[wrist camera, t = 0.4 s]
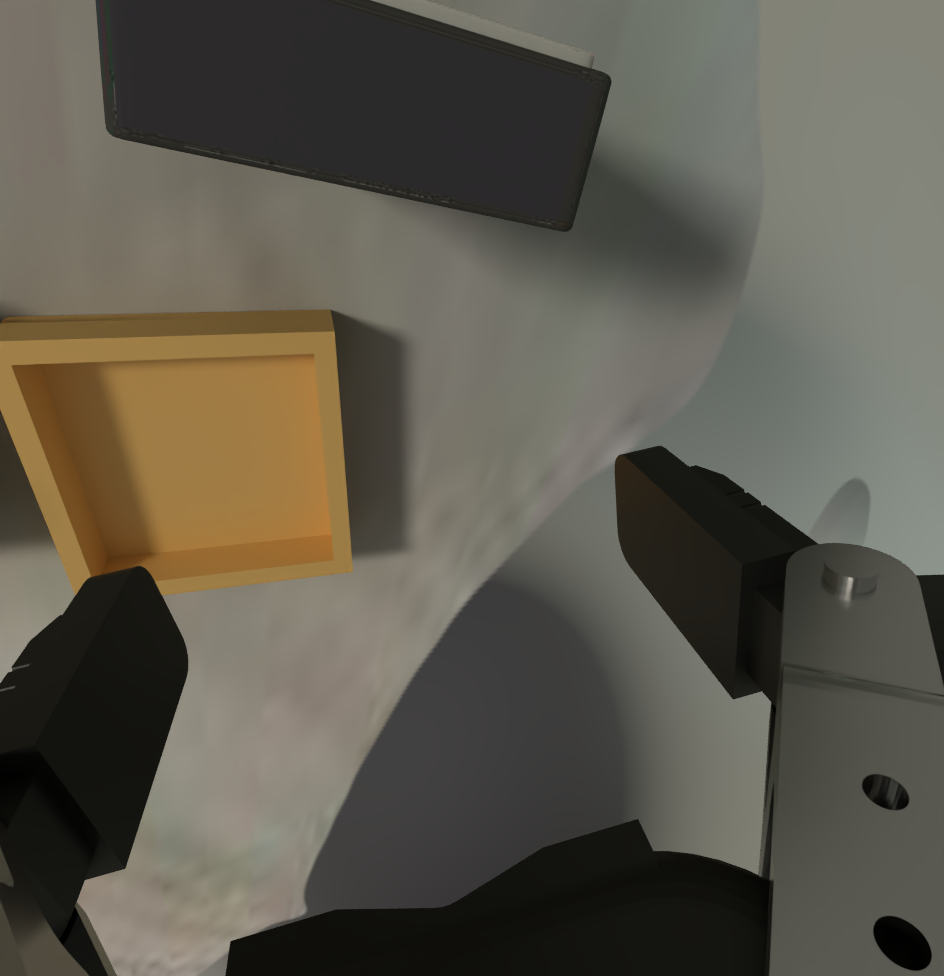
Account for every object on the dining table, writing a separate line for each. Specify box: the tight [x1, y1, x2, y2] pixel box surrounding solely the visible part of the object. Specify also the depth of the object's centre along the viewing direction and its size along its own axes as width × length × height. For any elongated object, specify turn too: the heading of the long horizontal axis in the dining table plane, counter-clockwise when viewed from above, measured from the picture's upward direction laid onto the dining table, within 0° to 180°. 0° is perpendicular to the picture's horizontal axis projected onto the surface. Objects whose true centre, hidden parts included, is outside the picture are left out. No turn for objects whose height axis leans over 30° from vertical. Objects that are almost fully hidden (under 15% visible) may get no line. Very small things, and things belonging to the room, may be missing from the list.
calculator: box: [96, 0, 611, 232], centre depth 19 cm, size 11×4×15 cm, turn 78°
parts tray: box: [0, 310, 353, 595], centre depth 30 cm, size 14×14×4 cm
